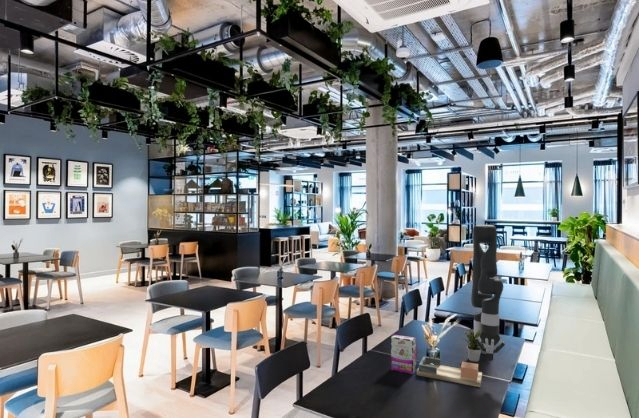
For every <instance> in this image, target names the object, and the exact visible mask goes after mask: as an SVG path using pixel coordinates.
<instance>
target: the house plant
mask: <svg viewBox="0 0 639 418" xmlns="http://www.w3.org/2000/svg"><path fill="white" fill-rule="evenodd" d="M468 333H469V334H468ZM464 334H465V336H466V338H468V340H467V339H466V338H462V340H464V342H465V341H466V342H467V343H468V345H467V346H466V351H467V357H468V360H469V361H471V362H475V363H476V362H479V361H480V357H481V354H480V353H481V348H480V347H478V346H479V345H478V344H477V343H476V341H475V339H476V338H478V337H480V334H481V331H480V332H479V330H478V332H477V333H476V335H475V337H474V327H473V328H471V329H470V328H468V332H466V331H464ZM481 341H482V340H481ZM481 343H484V342H483V341H482V342H481ZM483 346H484V344H483Z"/></svg>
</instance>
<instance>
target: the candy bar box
mask: <svg viewBox="0 0 639 418" xmlns="http://www.w3.org/2000/svg"><path fill="white" fill-rule="evenodd" d="M416 344H417V343H416V337H413V336H406V335H399V334H393V335H391V337H390V371H393V370H395V371H394V372H398V371H399V372H398V373H403V372H404V373H403V374H409V375H414V374H415V373H416V371H417V368H416V366H417V362H416V346H415V345H416Z"/></svg>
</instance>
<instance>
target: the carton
mask: <svg viewBox="0 0 639 418" xmlns="http://www.w3.org/2000/svg"><path fill="white" fill-rule="evenodd" d="M460 369H461V377H465V378H470V379H475V380H477V378H478V372H479V363H473V362H466V361H462V362H461V365H460Z"/></svg>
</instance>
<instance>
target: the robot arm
mask: <svg viewBox="0 0 639 418" xmlns="http://www.w3.org/2000/svg"><path fill="white" fill-rule="evenodd" d="M472 243H473V245H472V246H473V247H472V248H473V255H472V287H471V295H470V301H471V306H472V307H474V308H477V309H478V308H479V309H481V311H480V312H476V313H474V315H473V331H474V337H475V335H476V333H477V332H478V330H479V332H480V331H481V334H480V337H478V338H476V339H475V341H476V343H477V344H478V345H479V346H478V347H480V348H481V353H480V355H481V354H482V355H486V357H485V358H486V359H485V360H487V362H492V361H494V354H497V353H499V352H500V351H501V350H502V348H504V347H505V345H506V343H505V342H506V341H504V340H502V339H501V336H500V313H499V307H500V302H501V301H500V300H501V297H502V294H503V291H504V284H503V283H504V282H503V281H502V280H501V279H498V278H496V277H497V276H498V264H497V250H498V248H497V247H498V232H497V227H496V226H495V225H494V224H475V225H474V226H473V228H472ZM481 244H489V246H488V248H487V249H486V251H484V250H483V248H482V246H481ZM481 340H482V341H483V342H484V343H481V342H482V341H481ZM483 344H484V346H483ZM497 344H498V346H496V345H497ZM495 346H496V347H495ZM494 347H495V348H494Z"/></svg>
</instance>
